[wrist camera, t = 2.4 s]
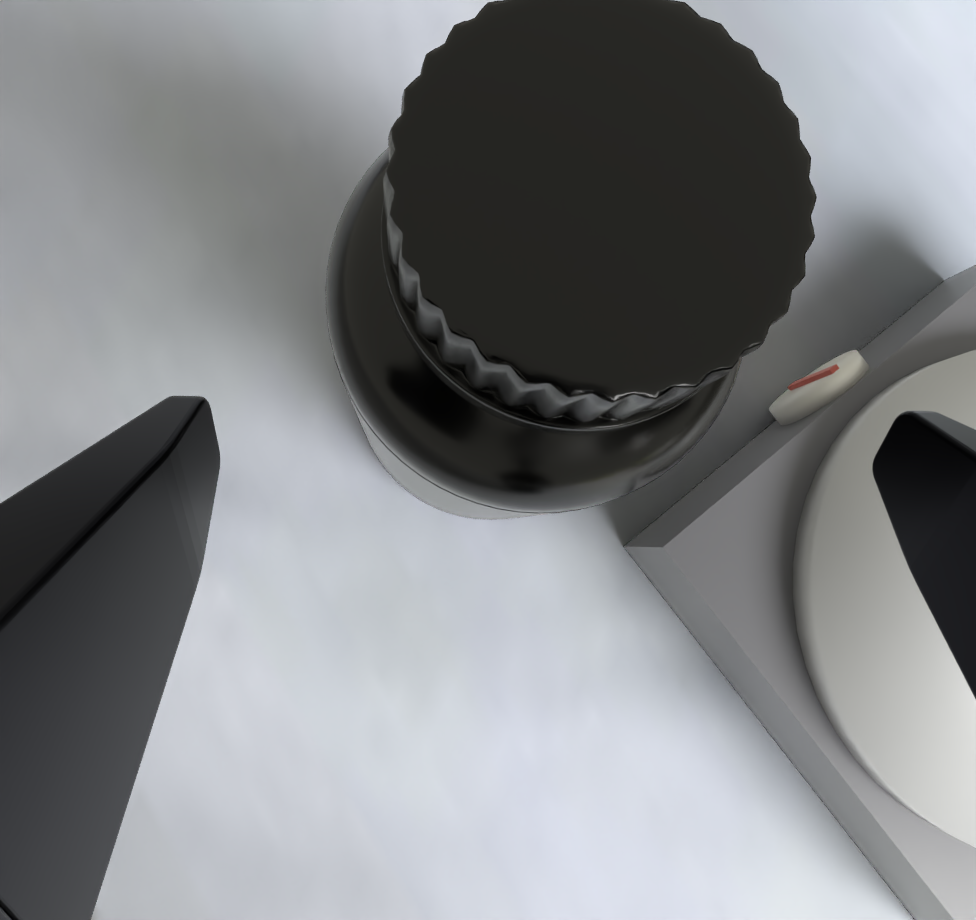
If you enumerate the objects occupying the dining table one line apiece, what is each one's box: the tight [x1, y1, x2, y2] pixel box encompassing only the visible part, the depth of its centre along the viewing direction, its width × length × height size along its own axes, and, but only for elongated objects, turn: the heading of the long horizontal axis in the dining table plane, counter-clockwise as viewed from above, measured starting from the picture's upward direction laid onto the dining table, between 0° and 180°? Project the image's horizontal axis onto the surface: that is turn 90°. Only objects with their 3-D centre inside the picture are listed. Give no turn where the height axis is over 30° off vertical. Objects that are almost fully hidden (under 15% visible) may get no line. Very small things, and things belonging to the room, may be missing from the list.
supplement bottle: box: [326, 0, 817, 520], centre depth 13 cm, size 7×7×12 cm
